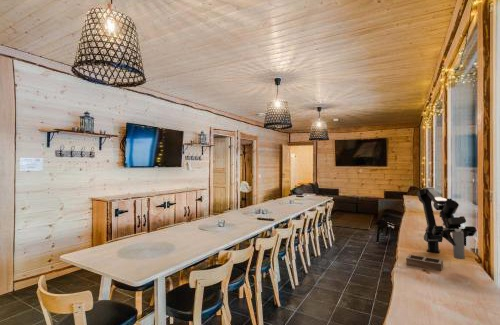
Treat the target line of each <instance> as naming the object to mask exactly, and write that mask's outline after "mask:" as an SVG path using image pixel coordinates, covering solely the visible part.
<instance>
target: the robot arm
mask: <svg viewBox="0 0 500 325" xmlns="http://www.w3.org/2000/svg"><path fill="white" fill-rule="evenodd" d="M416 197H417V198H418V200H419V202H420V203H421V204H422V207H423V210H424V217H425V221H426V228H425V233H424V235H423V241H425V242H426V243H427V249H426V252H430V253H437V254H440V253H441V252H440V251H441V249H439V248H440V245H439V243H443V239H445V240H446V241H448V242H449V244H451V246H452V247H453V246H455V243H454V241H453V237H452V235H451V233H452V231H455V229H461V232H463V233H464V247H466V246H467V237H474V236H475V234H476V232H477V231H478V230H477V228H476V227H475V225H473V226H472V225H465V227H464V228H461V226H462V225H463V224H465V223H467V220H466V217H465V216H464V215H463V216H459V217H458V216H454V214H456V213H457V211H458V208H459V207H460V206H459V205H460V204H459V203H458V202H457V201H456V200H453V199H452V198H444V197H442V196H441V195H440V193H438V192H437V190H436V189H435V187H432V186H431V187H430V186H429V187H424V188H422V189H419V190H418V191H417V192H416ZM432 202H433V205H432ZM433 207H434V208H433ZM434 209H435V210H436V211H440V212H439V218H441V221H442V222H443V223H442V225H437V223H436V219H435V213H434Z"/></svg>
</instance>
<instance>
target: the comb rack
mask: <svg viewBox="0 0 500 325" xmlns="http://www.w3.org/2000/svg"><path fill="white" fill-rule="evenodd" d="M405 262H406V266H410V267H417V268H422V269H423V268H424V269H426V270H427V269H429V270H432V271H433V270H434V271H439V272H442V270H443V267H444V259H442V258H435V257H429V256H423V255H415V254H408V255H407V257H406V261H405Z"/></svg>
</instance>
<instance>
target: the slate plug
mask: <svg viewBox="0 0 500 325" xmlns="http://www.w3.org/2000/svg"><path fill="white" fill-rule="evenodd" d="M461 229H462V228H459V229H455V231H452V235H451V237H452V239H453V241H454V243H455V246H453V245H452V248H453V249H452V250H453V258H454V259H457V260H465V259H466V255H465V254H466V253H465V250H466V249H465V246H464V233H463V232H461Z"/></svg>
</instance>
